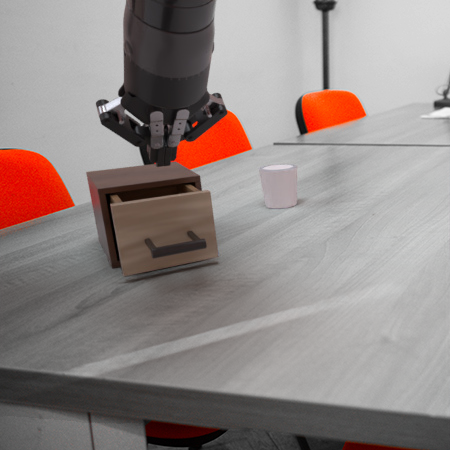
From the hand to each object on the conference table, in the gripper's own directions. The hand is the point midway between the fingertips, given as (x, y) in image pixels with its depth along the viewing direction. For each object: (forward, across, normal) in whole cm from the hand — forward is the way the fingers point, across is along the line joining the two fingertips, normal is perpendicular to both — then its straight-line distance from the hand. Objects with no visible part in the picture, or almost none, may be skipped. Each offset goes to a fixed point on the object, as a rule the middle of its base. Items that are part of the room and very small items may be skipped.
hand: (161, 160), depth 65 cm
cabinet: (+22, 0, -2) cm, 22 cm away
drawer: (+14, 0, +5) cm, 15 cm away
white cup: (+30, -24, -9) cm, 39 cm away
